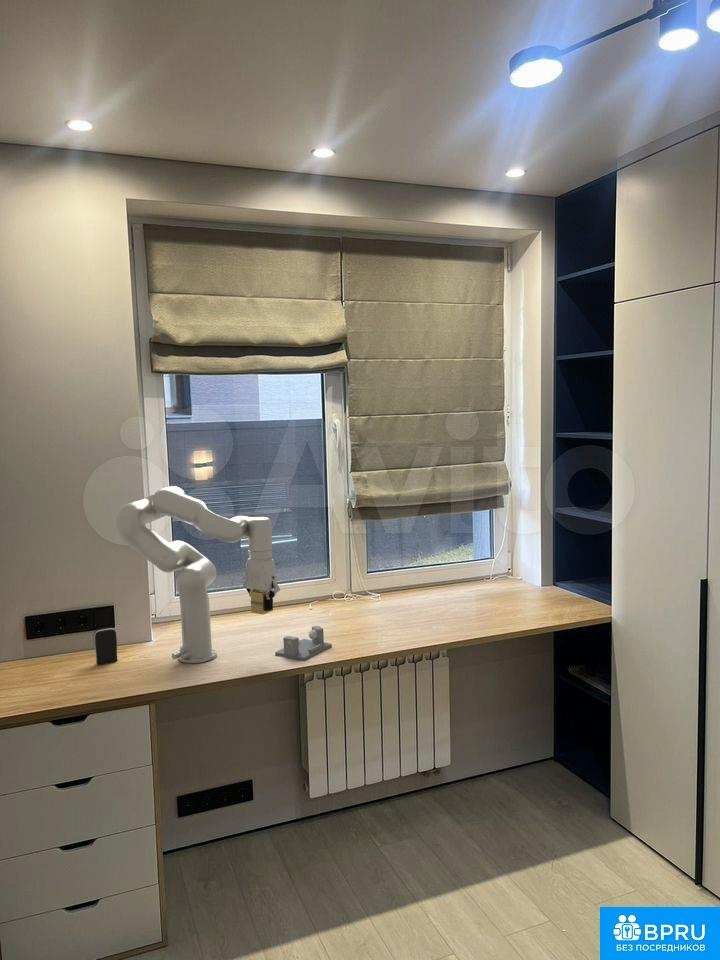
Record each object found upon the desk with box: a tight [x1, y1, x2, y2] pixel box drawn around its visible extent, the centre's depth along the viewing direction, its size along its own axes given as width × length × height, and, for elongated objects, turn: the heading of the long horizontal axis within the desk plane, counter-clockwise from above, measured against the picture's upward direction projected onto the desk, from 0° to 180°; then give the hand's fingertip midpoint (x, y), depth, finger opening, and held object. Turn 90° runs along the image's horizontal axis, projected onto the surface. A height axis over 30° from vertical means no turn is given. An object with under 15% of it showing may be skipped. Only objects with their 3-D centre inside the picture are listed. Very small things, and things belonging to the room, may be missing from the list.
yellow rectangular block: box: [250, 590, 274, 616], centre depth 233 cm, size 5×5×7 cm
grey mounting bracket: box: [274, 625, 333, 661], centre depth 241 cm, size 16×12×6 cm
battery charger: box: [93, 627, 118, 666], centre depth 235 cm, size 7×4×11 cm, turn 123°
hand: (262, 608), depth 234 cm, fingers closed on yellow rectangular block, 5 cm apart
